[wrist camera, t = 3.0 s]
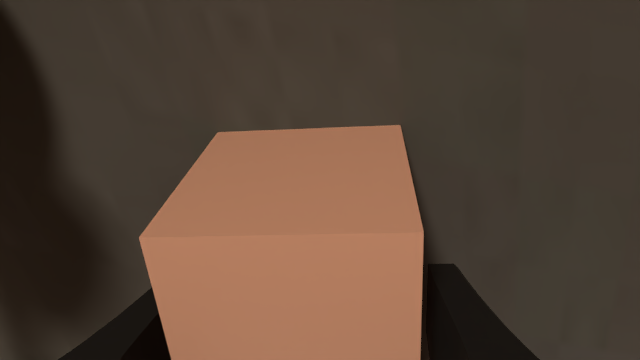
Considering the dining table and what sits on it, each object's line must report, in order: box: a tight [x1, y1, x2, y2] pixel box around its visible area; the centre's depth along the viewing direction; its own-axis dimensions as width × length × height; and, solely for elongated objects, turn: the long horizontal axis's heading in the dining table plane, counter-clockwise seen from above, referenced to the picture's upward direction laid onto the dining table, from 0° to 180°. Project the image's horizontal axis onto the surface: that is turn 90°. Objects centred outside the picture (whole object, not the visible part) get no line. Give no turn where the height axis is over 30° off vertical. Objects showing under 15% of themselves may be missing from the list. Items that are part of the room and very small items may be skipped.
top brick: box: [139, 125, 424, 360], centre depth 12 cm, size 8×4×5 cm, turn 4°
